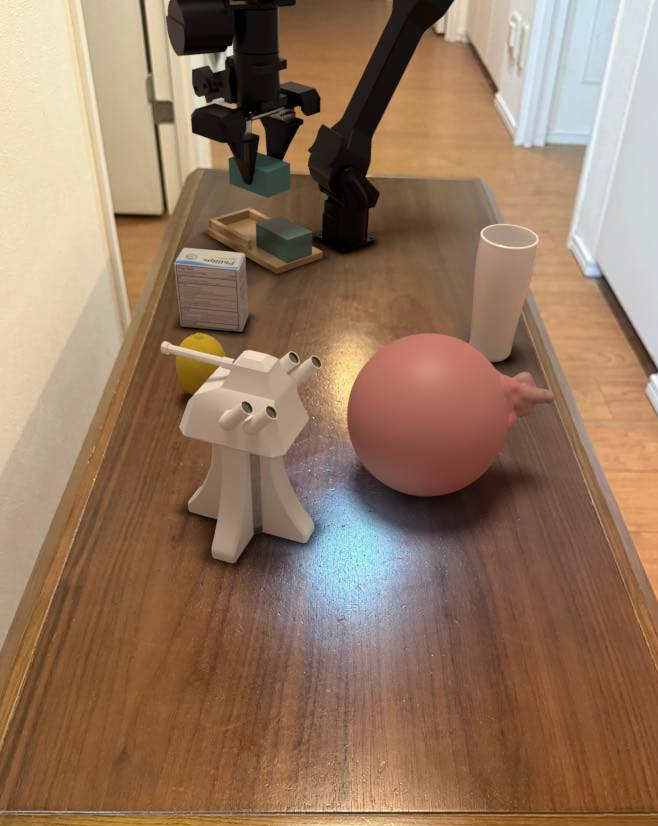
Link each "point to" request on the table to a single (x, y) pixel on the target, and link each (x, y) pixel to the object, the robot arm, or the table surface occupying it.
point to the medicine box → (212, 289)
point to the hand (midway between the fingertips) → (260, 179)
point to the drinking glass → (500, 287)
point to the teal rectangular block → (263, 176)
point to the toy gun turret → (248, 446)
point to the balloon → (434, 413)
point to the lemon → (197, 362)
